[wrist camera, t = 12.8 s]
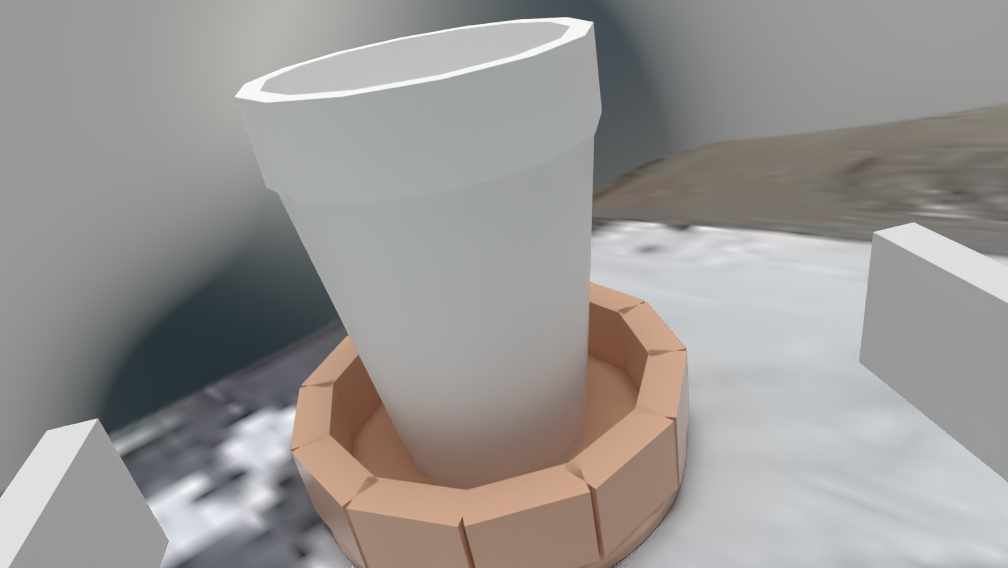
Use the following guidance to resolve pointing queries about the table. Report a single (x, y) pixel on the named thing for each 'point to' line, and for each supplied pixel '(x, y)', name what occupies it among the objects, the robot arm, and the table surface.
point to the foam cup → (451, 229)
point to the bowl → (519, 500)
